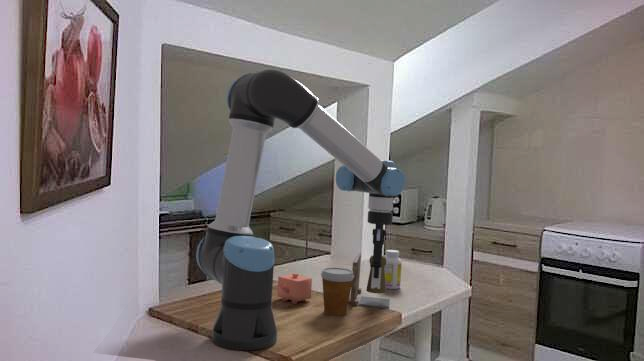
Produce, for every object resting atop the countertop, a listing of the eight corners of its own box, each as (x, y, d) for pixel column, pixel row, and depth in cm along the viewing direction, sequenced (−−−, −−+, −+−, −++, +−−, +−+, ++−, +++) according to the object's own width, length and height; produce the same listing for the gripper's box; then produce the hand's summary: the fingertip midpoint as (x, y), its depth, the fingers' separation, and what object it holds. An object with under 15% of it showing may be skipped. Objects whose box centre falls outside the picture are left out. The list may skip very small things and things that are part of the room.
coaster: (358, 305, 158) (359, 303, 158) (360, 298, 167) (361, 296, 167) (388, 308, 157) (389, 306, 157) (389, 300, 166) (389, 298, 166)
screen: (347, 304, 158) (349, 262, 157) (352, 290, 176) (354, 252, 175) (357, 305, 157) (359, 262, 157) (361, 291, 175) (363, 252, 175)
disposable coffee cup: (312, 309, 150) (314, 268, 150) (338, 306, 156) (341, 266, 156) (331, 319, 143) (334, 275, 142) (358, 315, 148) (361, 273, 148)
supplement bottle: (396, 285, 188) (398, 249, 187) (402, 289, 181) (405, 252, 181) (378, 284, 186) (380, 248, 186) (384, 289, 180) (386, 252, 179)
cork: (373, 287, 165) (375, 252, 165) (389, 291, 162) (391, 255, 161) (362, 290, 161) (364, 254, 160) (379, 294, 157) (381, 258, 157)
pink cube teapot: (269, 301, 157) (271, 274, 157) (295, 294, 166) (297, 269, 166) (289, 307, 152) (291, 279, 152) (314, 300, 162) (316, 273, 161)
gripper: (392, 214, 151) (387, 294, 152) (393, 209, 169) (388, 280, 170) (366, 212, 152) (361, 292, 153) (369, 207, 170) (365, 278, 171)
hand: (375, 285), depth 162 cm, fingers open, 5 cm apart
